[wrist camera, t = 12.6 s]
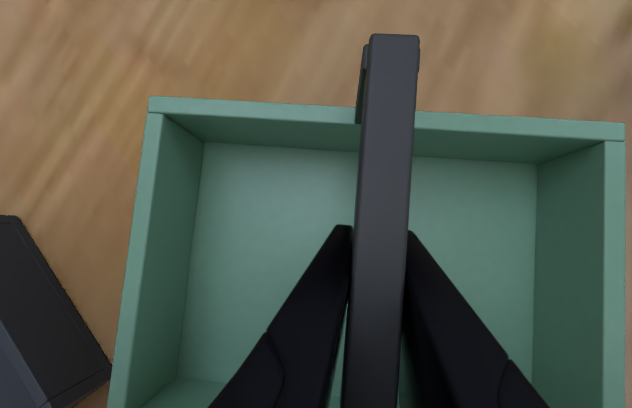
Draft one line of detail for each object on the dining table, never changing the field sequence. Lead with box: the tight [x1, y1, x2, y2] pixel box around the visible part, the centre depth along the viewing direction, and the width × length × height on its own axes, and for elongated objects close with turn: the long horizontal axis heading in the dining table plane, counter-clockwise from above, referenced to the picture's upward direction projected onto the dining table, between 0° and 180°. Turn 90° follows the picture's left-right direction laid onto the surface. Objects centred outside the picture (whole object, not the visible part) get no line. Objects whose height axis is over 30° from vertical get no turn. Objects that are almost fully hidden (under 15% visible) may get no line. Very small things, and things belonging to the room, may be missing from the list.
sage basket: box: [107, 34, 626, 408], centre depth 10 cm, size 11×15×8 cm
